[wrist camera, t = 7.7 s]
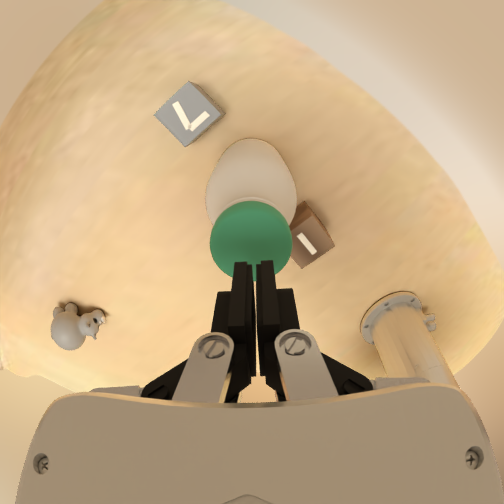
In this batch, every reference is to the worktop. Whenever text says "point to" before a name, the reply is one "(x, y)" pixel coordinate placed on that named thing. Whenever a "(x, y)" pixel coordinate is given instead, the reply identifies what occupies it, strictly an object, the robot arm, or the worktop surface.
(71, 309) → the chubby cartoon animal
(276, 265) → the milk bottle
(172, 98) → the slate grey block
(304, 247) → the walnut block
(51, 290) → the worktop surface
